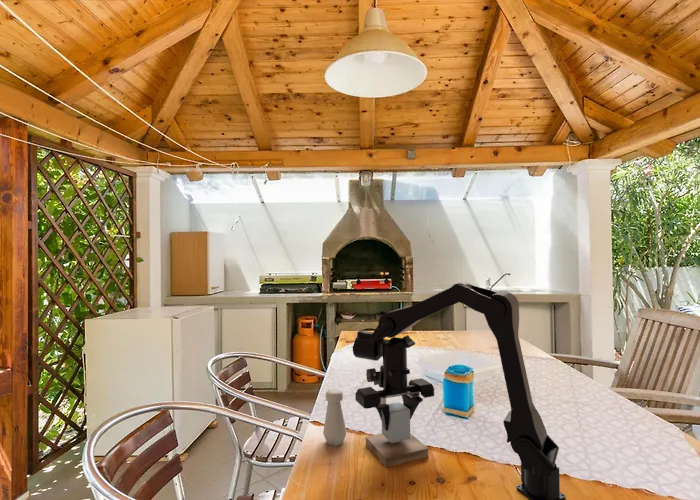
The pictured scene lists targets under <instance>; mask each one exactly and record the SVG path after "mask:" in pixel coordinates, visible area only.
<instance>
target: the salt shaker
mask: <svg viewBox="0 0 700 500" xmlns="http://www.w3.org/2000/svg"><path fill="white" fill-rule="evenodd" d="M343 398H344V394H343V392H342V390H340V389H339V388H330V389H328V390H327V391H326V392H325V400H326V401H327V407H326V414H325V419H324V424H323V425H324V426H323V431H322V432H323V433H322V434H323V436H324V437H323V438H324V439H325V442H326V443H327V444H328V445H329V446H335V447H338V446H340V445H342V444H343V443H344V441H345V438H346V436H347V427H346V424H345V419H344V413H343V409H342V403H341V401H342V400H343Z"/></svg>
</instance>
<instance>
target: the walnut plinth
mask: <svg viewBox="0 0 700 500" xmlns="http://www.w3.org/2000/svg"><path fill="white" fill-rule="evenodd" d="M365 446H366V447H367V448H368V449H369V450H370V451H371V453H372V454H373V455H374V456H376V458H377V459H378V460H379V461H380V462H381V463H382V464H383V466H384V467H385V468H390V467H394V466H397V465H401V464H406V463H409V462H414V461H418V460H422V459H425V458H429V448H428V447H427V446H426V445H425V444H424V443H422V442H421V441H420V440H419V439H418V438H416V437H415V436H414V435H413V433H411V432H410V439H408V440H403V441H399V442H395V443H391V442H390V441H389V440H388V439H387V438H386V437H385V436H384V435H383V434H382V432H380V433H377V434H373V435H368V436H365Z"/></svg>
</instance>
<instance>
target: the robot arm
mask: <svg viewBox="0 0 700 500" xmlns="http://www.w3.org/2000/svg"><path fill="white" fill-rule="evenodd" d="M458 303H461V304H463V305H465V306H466V307H468V308H470V309H472V310H473V311H475V312H478V313H481V314H483V315H484V318H485V320H486V323H487V326H488V328H489V330H490V331H491V332H492V334H493V335H494V337H495V341H496V342H497V348H498V352H499V357H500V362H501V366H502V371H503V372H502V373H503V376H504V381H505V385H506V391H507V394H508V395H507V396H508V399H509V404H510V410H509V411H508V413H507V415H506V416H505V418H504V420H503V426H504V429H505V431H506V436H507V437H506V443H507V444H508V443H510V447H511V449H512V451H513V452H514V453H515V454H517V455H518V457H519V460H520V476H521V477H520V482H521V483H520V484H517V485H516V490H518V491H519V492H520V493H522V494H523V495H524V496H526V497H527V498H528V499H529V500H566V497H567V496H566V494H564V493H563V492H561V491H560V489H561V488H560V485H561V484H560V482H561V481H560V468H559V467H558V466H557V464H556V461H557V458H558V453H559V450H560V447H559V446H558V444H556V442H555V441H554V440H553V439H552V438H551V437H550V436H549V435H548V433H547V429H546V426H545V424H544V422H543V418H542V417H541V415H540V413H539V412H538V410H537V408H536V407H535V404H534V402H533V397H532V392H531V388H530V384H529V379H528V374H527V370H526V365H525V361H524V356H523V350H522V347H521V346H522V345H521V343H520V337H519V329H520V327H519V326H520V304H519V300H518V297H516V296H515V295H514V294H513V293H512V292H509V291H505V290H504V291H503V290H502V291H494V290H492V289H488V288H485V287H480V286H477V285H473V284H471V283H469V282H467V281H462V282H457V283H454V284H453V285H451V286H450V287H449V288H447V289H445V290H442V291H441V292H438V293H436V294H433V295H432V296H430V297H428V298H426V299H423V300H421V301H419V302H418V303H415V304H413V305H409V306H406V307H402V308H398V309H394V310H390V311H389V312H386V313H383V314H381V315H380V316H379V319H378V325H377V326H376V328H375V329H374V330H373V332H372V331H367V330H363V329H362V330H361V329H360V330H359V331H357V334H356V335H357V336H356V338H355V339H354V342H353V345H352V353H353V356H354V357H355V358H357V359H362V360H363V359H364V360H369V361H379V360H380V359H381V358H382V364H381V365H380V367H379V370H378V371H377V370H376V368H367V369H366V373H365V374H366V375H365V376H366V381H367V383H372V382H373V386H378V387H379V388H380V390H376V389H374V388H373V387H372V386H367V387H363V388H357V390H356V392H355V394H354V395H355V398H354V399H355V402H357V403H358V404H359V405H360V406H361V407H362V408H363V409H374V408H375V409H376V410H377V412H378V415H379V418H380V421H381V425H382V424H383V426H384V429H385V430H386V431H388V426H389V405H387V404H388V403H387V399H389V398H395V397H400V396H401V398H402V404H403V405H404V406H406V407H407V408H409V409H410V421H411V419H412V418H413V415H414V413H415V411H416V410H417V408H418V407H419V404H420V403H422V402H424V401H423V399H426V398H431V397H434V396H435V387H434V384H432V383H431V382H430V381H428V380H426V379H425V378H415V379H410V380H409V381H408V375H410V374H411V371H410V370H411V369H410V368H408V364H407V363H408V359H407V358H408V355H407V354H408V353H407V352H408V350H407V349H409V348H411V347H413V346H415V345H416V342H415V341H414V340H413V339H412V338H411V337H410V336H409V335H404V336H403V337H397V336H398V335H399V336H400V334H403V333H405V332H407V331H408V330H410V329H411V328H412V327H414V326H415V325H416V324H417V323H419V322H420V321H422V320H423V319H425V318H427V317H430V316H432V315H434V314H436V313H439V312H441V311H442V310H445V309H447V308H449V307H453V306H454V305H455V304H456V305H457V304H458ZM386 338H389V339H386ZM381 388H382V390H381ZM421 396H422V397H421Z"/></svg>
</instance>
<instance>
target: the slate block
mask: <svg viewBox="0 0 700 500" xmlns="http://www.w3.org/2000/svg"><path fill="white" fill-rule="evenodd" d="M386 404H387V405H389V426H388V431H386V430H385V429H384V426H383V424H382V423H381V433H382V434H383V435H384V436H385V437H386V438H387V439H388V440H389V441H390V442H391V443H395V442H399V441H403V440H408V439H410V433H411V420H410V409H409V408H407V407H406V406H404V405H403V402H400V401H399V402H398V401H397V402H392V403H386Z"/></svg>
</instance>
